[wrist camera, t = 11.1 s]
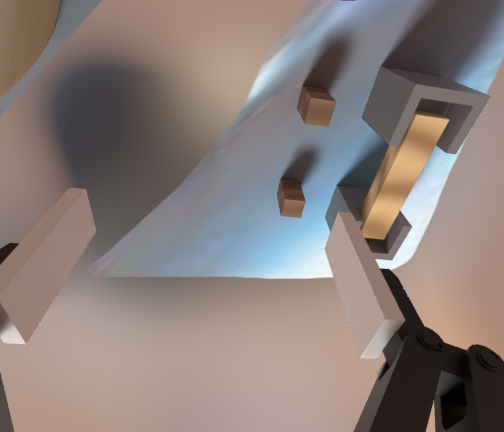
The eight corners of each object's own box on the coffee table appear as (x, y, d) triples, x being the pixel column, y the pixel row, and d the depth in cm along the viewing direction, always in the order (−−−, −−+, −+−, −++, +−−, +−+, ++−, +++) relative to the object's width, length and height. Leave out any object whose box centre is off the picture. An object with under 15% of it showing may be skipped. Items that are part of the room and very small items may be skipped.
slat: (406, 107, 35) (416, 114, 33) (437, 112, 35) (449, 119, 33) (353, 226, 45) (358, 236, 43) (377, 228, 46) (384, 239, 44)
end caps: (380, 66, 37) (415, 83, 30) (441, 76, 38) (490, 96, 31) (324, 217, 52) (339, 255, 44) (370, 222, 53) (391, 260, 45)
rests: (302, 85, 39) (311, 97, 34) (324, 88, 39) (336, 101, 34) (277, 194, 49) (280, 216, 44) (294, 196, 49) (300, 218, 44)
